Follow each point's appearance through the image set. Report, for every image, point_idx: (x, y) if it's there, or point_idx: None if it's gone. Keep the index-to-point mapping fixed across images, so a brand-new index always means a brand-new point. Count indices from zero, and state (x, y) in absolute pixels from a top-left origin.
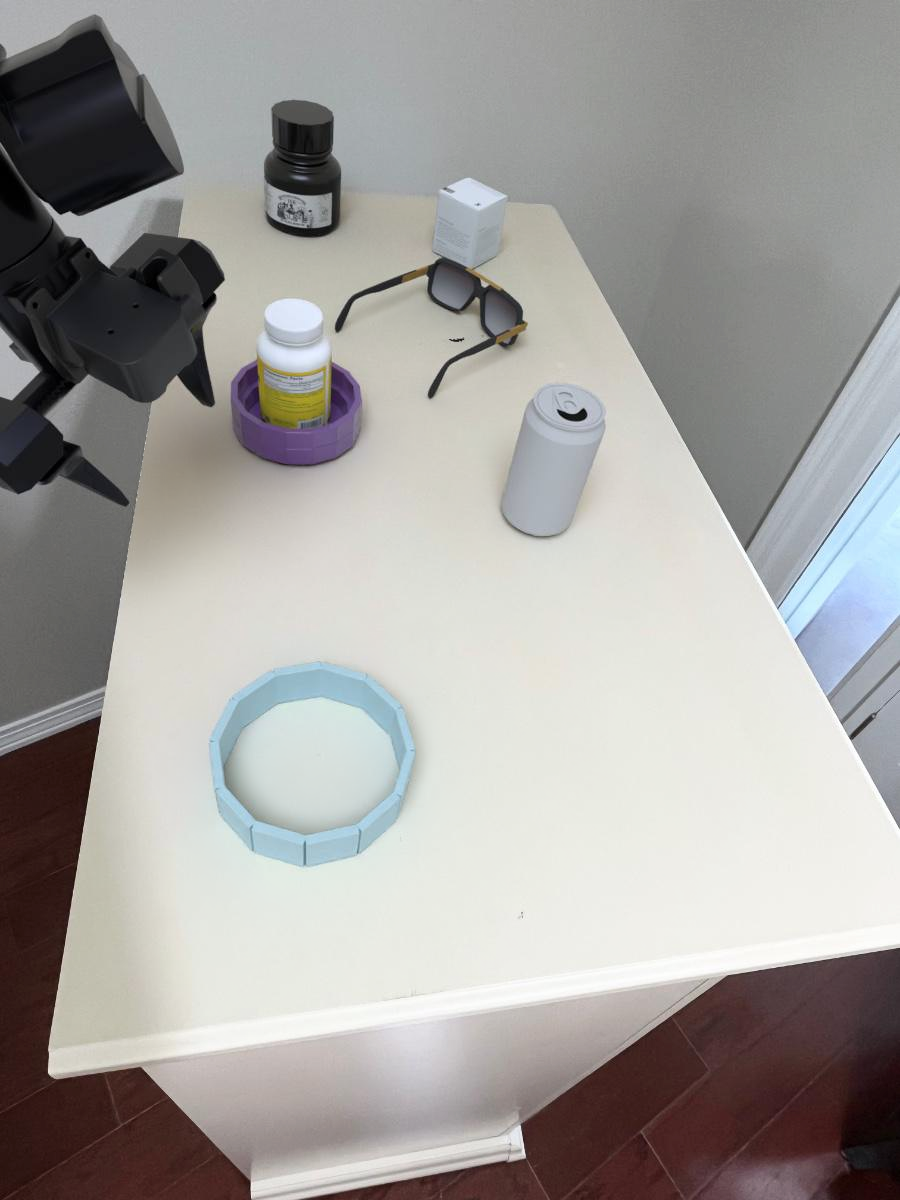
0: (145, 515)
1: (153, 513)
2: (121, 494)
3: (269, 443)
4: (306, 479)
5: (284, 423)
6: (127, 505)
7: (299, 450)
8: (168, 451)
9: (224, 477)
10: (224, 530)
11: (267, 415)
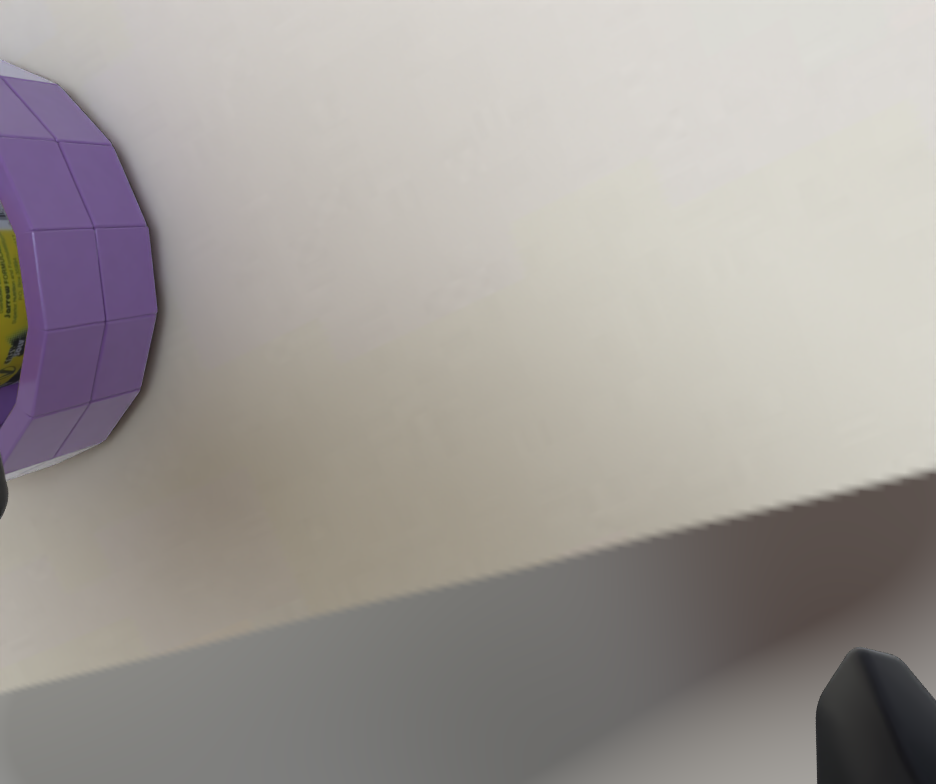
0: (507, 568)
1: (490, 547)
2: (913, 732)
3: (99, 290)
4: (173, 143)
5: (8, 275)
6: (887, 653)
7: (82, 184)
8: (251, 591)
9: (271, 396)
10: (471, 302)
11: (5, 343)
